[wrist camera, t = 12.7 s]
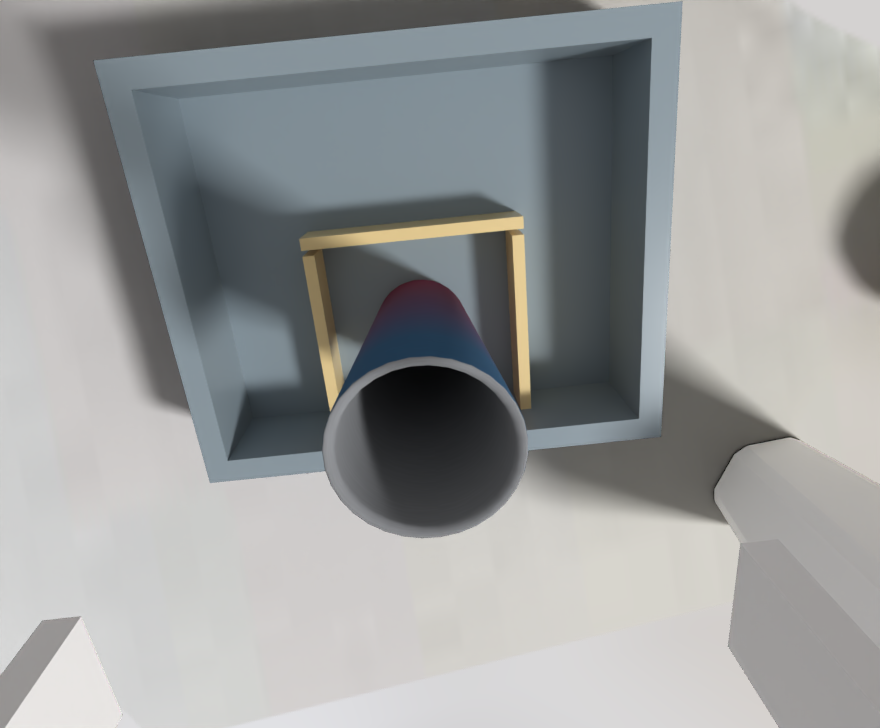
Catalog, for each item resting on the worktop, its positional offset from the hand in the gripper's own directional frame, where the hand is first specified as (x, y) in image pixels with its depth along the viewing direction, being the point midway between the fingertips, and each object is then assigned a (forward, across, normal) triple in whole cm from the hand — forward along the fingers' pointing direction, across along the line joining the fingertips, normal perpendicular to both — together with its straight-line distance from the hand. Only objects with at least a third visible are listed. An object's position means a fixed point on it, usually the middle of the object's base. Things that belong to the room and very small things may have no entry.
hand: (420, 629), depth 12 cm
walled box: (+24, 0, +3) cm, 24 cm away
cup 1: (+23, 0, 0) cm, 23 cm away
